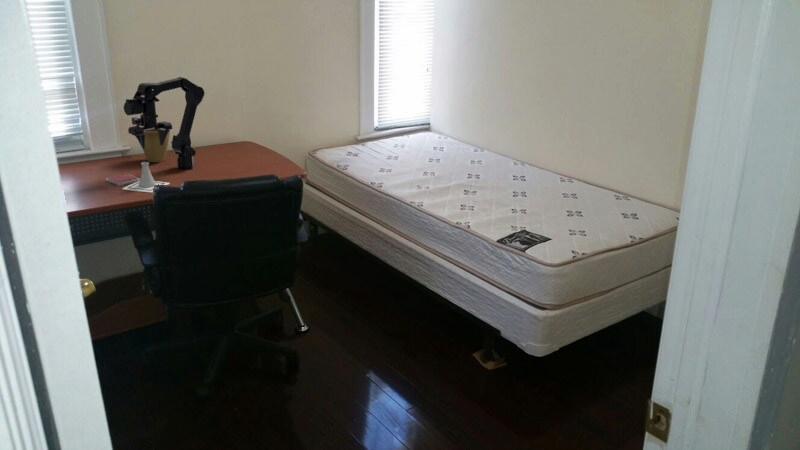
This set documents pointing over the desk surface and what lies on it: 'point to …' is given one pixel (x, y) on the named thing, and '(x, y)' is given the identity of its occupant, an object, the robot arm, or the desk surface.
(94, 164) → the desk surface
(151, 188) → the marked board
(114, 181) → the ink pad
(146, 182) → the flask
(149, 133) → the plant pot
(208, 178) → the desk surface
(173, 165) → the desk surface
